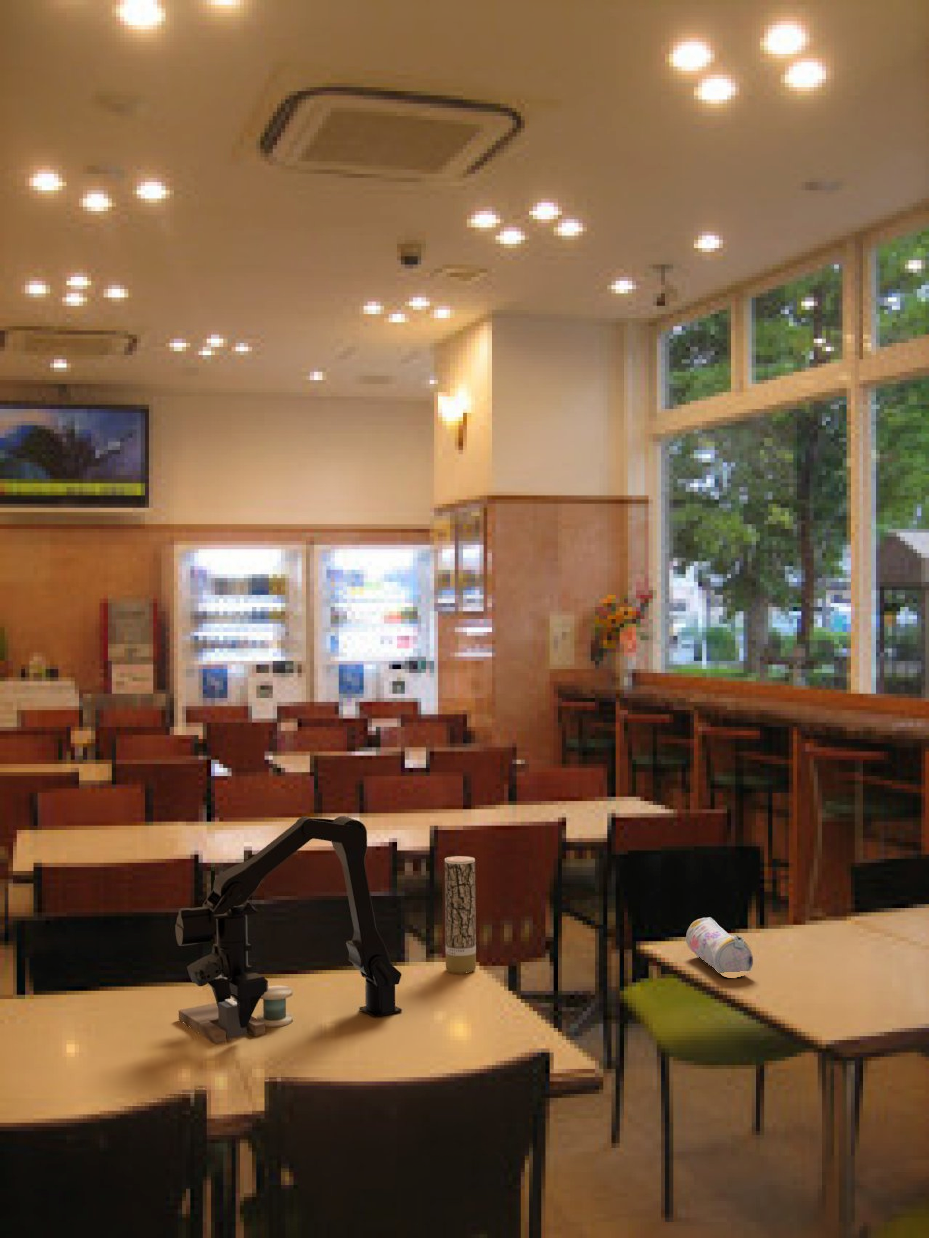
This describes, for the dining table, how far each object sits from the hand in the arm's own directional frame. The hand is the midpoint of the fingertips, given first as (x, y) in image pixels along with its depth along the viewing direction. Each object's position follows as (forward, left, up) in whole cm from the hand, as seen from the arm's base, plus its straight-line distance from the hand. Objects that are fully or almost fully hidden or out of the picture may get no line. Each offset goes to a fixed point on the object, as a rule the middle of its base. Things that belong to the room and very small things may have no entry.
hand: (233, 1021), depth 243 cm
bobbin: (+3, -10, -2) cm, 11 cm away
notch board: (+6, 0, -2) cm, 6 cm away
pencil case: (-22, -108, -3) cm, 110 cm away
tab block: (0, 0, -2) cm, 3 cm away
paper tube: (+11, -60, -3) cm, 61 cm away
